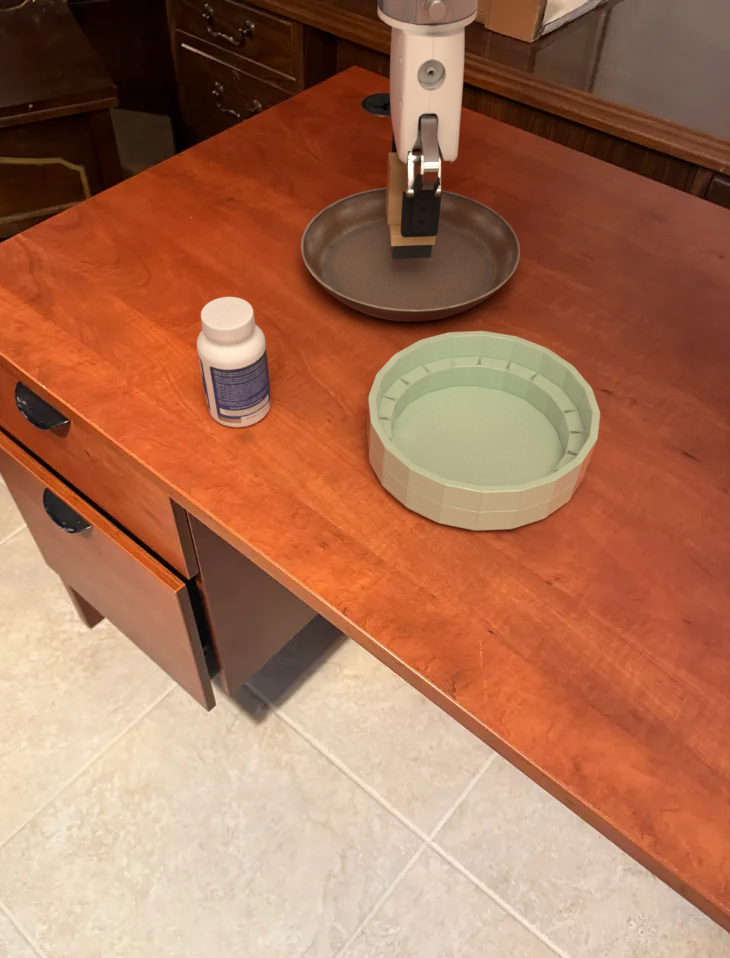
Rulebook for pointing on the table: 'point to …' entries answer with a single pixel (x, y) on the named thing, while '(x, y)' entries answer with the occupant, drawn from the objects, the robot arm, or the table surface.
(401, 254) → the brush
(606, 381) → the table surface
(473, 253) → the plant saucer
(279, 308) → the table surface
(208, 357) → the pill bottle
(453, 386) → the bowl
